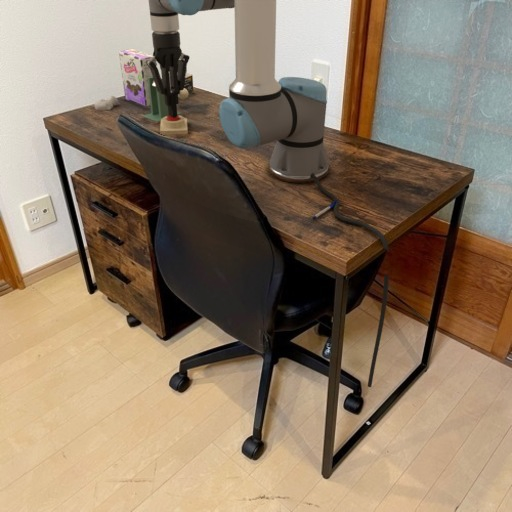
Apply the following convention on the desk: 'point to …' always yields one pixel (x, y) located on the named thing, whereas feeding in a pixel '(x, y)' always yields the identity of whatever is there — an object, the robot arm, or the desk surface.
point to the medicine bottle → (187, 80)
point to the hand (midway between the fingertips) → (173, 115)
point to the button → (172, 118)
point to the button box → (173, 126)
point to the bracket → (156, 103)
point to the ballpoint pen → (325, 210)
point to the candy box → (135, 75)
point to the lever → (183, 92)
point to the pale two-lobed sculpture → (106, 104)
